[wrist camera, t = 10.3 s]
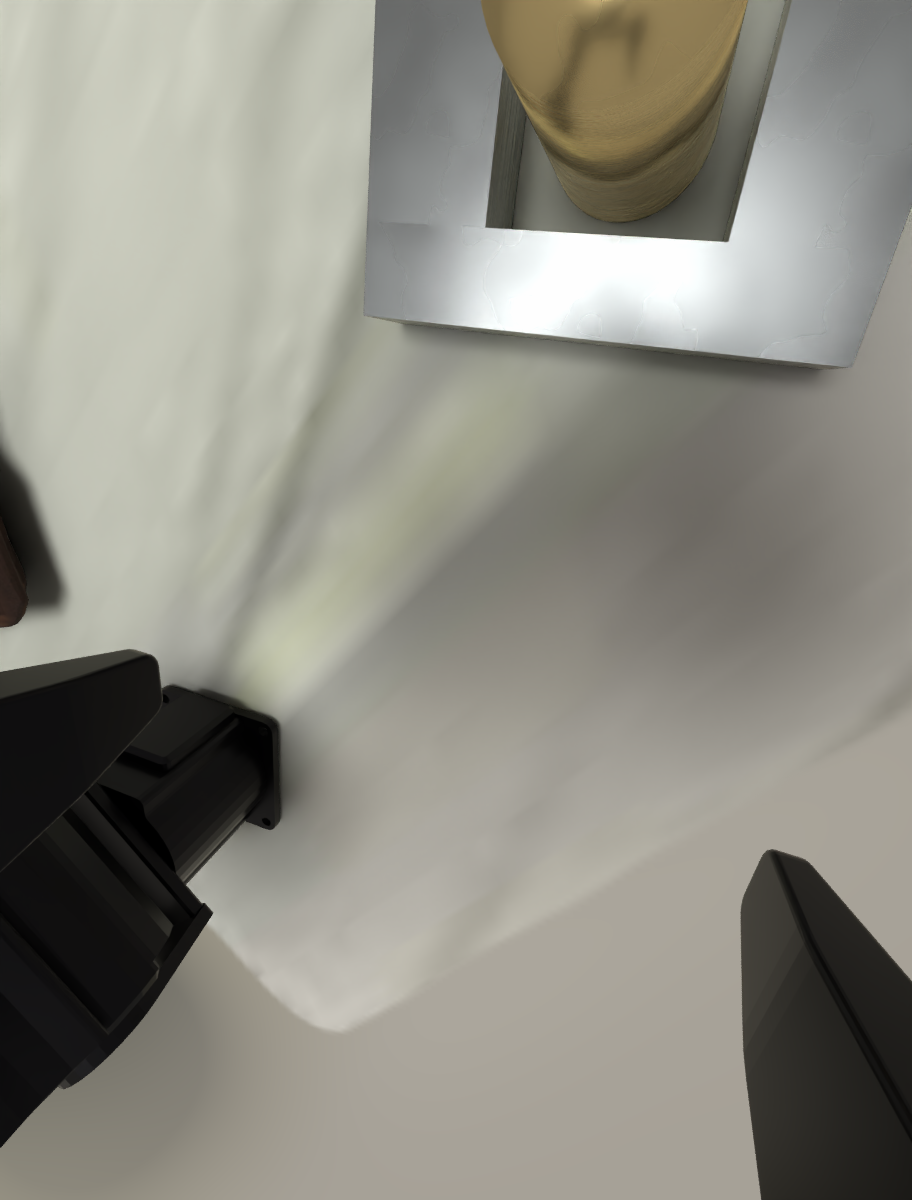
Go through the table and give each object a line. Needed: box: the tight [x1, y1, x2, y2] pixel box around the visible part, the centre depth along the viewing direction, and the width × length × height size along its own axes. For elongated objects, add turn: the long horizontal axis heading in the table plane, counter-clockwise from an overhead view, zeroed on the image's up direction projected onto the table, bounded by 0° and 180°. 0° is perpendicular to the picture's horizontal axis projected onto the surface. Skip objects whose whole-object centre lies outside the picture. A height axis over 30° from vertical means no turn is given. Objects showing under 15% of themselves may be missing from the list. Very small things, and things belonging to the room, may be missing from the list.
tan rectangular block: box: [481, 0, 748, 222], centre depth 11 cm, size 4×4×7 cm
